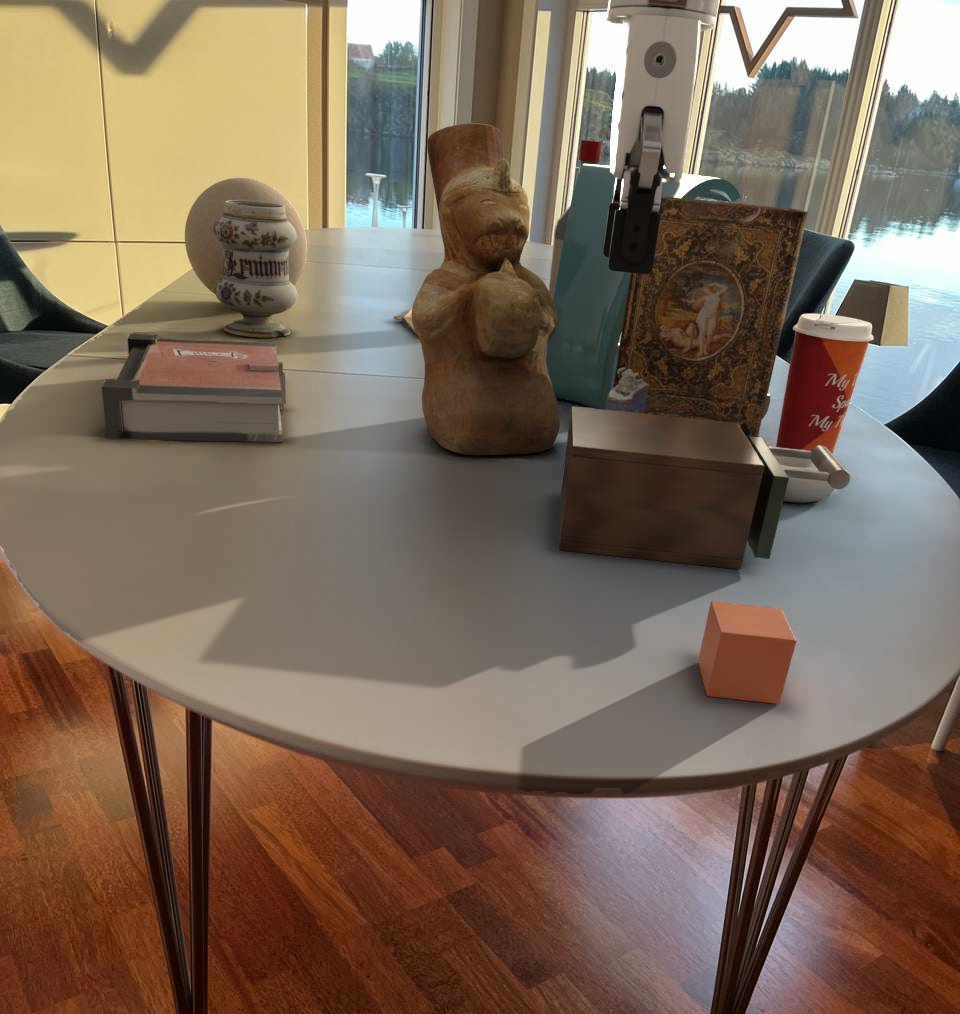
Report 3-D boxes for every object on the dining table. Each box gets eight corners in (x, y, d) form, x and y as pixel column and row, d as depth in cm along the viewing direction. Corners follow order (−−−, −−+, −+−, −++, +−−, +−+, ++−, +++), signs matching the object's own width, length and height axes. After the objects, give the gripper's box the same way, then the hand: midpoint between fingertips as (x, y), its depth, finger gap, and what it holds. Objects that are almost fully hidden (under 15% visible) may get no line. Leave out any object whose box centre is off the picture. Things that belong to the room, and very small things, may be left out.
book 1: (290, 442, 95) (289, 392, 93) (107, 438, 91) (101, 387, 89) (281, 380, 118) (280, 339, 115) (134, 376, 114) (130, 333, 112)
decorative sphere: (325, 315, 161) (326, 186, 152) (210, 317, 151) (203, 179, 142) (282, 295, 176) (280, 176, 166) (174, 296, 166) (165, 169, 156)
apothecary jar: (260, 343, 137) (257, 207, 128) (199, 329, 141) (192, 198, 133) (313, 333, 146) (313, 206, 138) (254, 321, 151) (251, 198, 143)
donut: (734, 470, 100) (726, 495, 92) (741, 437, 99) (733, 460, 90) (831, 486, 98) (833, 514, 89) (840, 454, 96) (842, 479, 88)
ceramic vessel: (440, 464, 93) (462, 118, 79) (377, 407, 110) (385, 115, 96) (581, 458, 99) (625, 134, 85) (500, 404, 116) (525, 129, 102)
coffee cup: (825, 474, 101) (863, 329, 94) (753, 455, 105) (784, 315, 98) (850, 459, 107) (887, 322, 100) (781, 442, 111) (812, 310, 104)
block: (765, 668, 61) (781, 607, 59) (779, 704, 57) (797, 640, 55) (697, 661, 61) (710, 600, 59) (706, 696, 57) (721, 632, 55)
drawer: (804, 517, 85) (824, 438, 82) (836, 566, 75) (860, 479, 72) (597, 495, 86) (608, 416, 82) (601, 541, 76) (614, 454, 72)
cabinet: (718, 515, 86) (737, 422, 82) (740, 569, 75) (764, 465, 71) (559, 498, 87) (571, 405, 83) (558, 550, 76) (572, 445, 72)
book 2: (750, 449, 107) (803, 209, 96) (755, 463, 102) (812, 212, 91) (606, 432, 109) (641, 194, 97) (605, 445, 104) (642, 196, 92)
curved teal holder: (574, 370, 137) (590, 157, 123) (772, 391, 130) (813, 168, 116) (526, 422, 115) (539, 171, 101) (760, 451, 108) (809, 186, 94)
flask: (615, 494, 89) (633, 380, 84) (586, 488, 90) (601, 375, 85) (637, 469, 97) (654, 363, 92) (610, 464, 98) (625, 359, 93)
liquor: (545, 325, 171) (566, 138, 157) (544, 316, 179) (563, 138, 165) (595, 329, 171) (620, 143, 157) (592, 321, 179) (615, 143, 165)
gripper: (739, -15, 57) (686, 283, 65) (702, 19, 72) (663, 258, 80) (615, -26, 57) (578, 273, 65) (604, 11, 73) (575, 249, 81)
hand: (625, 264), depth 73 cm, fingers open, 9 cm apart
